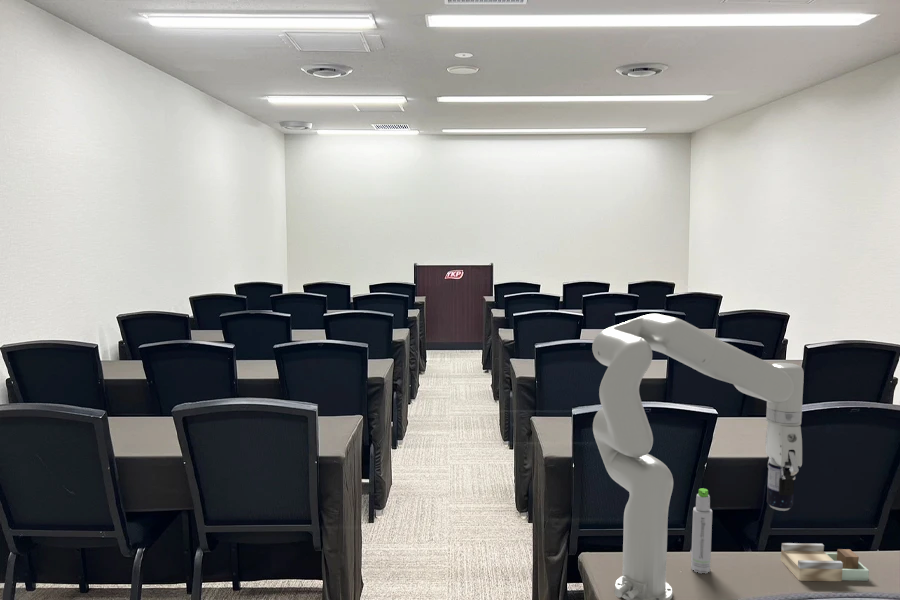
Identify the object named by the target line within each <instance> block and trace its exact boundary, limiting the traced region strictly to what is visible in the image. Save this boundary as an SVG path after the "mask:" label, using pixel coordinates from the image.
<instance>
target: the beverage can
mask: <svg viewBox="0 0 900 600" xmlns="http://www.w3.org/2000/svg"><path fill="white" fill-rule="evenodd" d="M785 465H790V464H789V463H785ZM767 468H768V469H767V488H766V489H767V490H766V503H767V504H768V505H769V507H770V508H772V510H776V511H783V512H785V511H789V510H790V509H791V508H793V507H794V494H793V495H780V494H779V478H781V469H780V465H778V464H777V463H776V462H775V460H774V459H772V458H771V459H770V461H769V467H768V466H767ZM789 469H790V468H785V473H786V471H787V470H789Z"/></svg>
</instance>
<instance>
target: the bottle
mask: <svg viewBox="0 0 900 600" xmlns="http://www.w3.org/2000/svg"><path fill="white" fill-rule="evenodd" d="M712 525H713V510H712V508H711V496H710V494H709V490H708V489H707V488H704V487H703V488H699V489H698V493H696V498H695V506H694V507H693V510H692V529H691V530H692V531H691V532H692V533H691V560H690V568H691V569H690V570H692V571H693V570H694V571H693V572H694V573H697V572H698V574H702V573H705V574H708V572H709V573H710V572H711V561H712V560H711V557H712V556H711V554H712V533H713V532H712V531H713V529H712V527H713V526H712Z"/></svg>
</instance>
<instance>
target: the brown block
mask: <svg viewBox="0 0 900 600" xmlns="http://www.w3.org/2000/svg"><path fill="white" fill-rule="evenodd" d="M836 551H837V552H836V553H837V561H841V562H842V563H843V568H842V569H858V561H859V556H858V554H856V553H855V552H854V551H852V550H851V549H849V548H846V549H845V548H844V549H843V548H837V550H836ZM859 562H860V561H859Z"/></svg>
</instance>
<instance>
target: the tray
mask: <svg viewBox="0 0 900 600" xmlns="http://www.w3.org/2000/svg"><path fill="white" fill-rule="evenodd" d="M825 553H826V554H827V555H828V556H829V557H830V558H831V559H832V560H833V561H837V552H825ZM869 576H870V570H869V569H868V567H866V566H864V565H863V563H861V562H860V561H858V569H842V581H863V582H864V581H869V579H870V578H869Z"/></svg>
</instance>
